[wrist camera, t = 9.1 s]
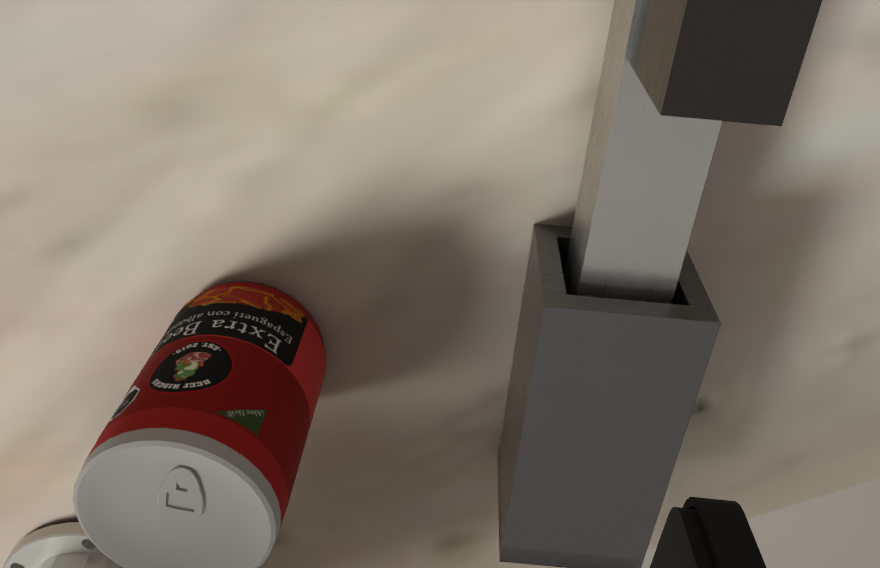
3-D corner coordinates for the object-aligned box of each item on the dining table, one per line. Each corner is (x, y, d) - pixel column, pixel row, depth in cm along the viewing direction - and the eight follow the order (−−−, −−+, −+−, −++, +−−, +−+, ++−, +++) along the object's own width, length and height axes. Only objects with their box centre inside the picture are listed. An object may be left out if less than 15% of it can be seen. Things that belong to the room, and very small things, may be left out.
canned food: (320, 275, 35) (259, 441, 26) (338, 408, 39) (291, 593, 30) (158, 275, 36) (40, 439, 26) (193, 407, 40) (102, 588, 30)
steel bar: (634, 337, 34) (674, 479, 27) (551, 329, 34) (570, 470, 27) (771, -203, 23) (903, -213, 16) (652, -213, 23) (728, -228, 16)
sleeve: (617, 469, 40) (638, 574, 35) (497, 458, 40) (499, 561, 35) (680, 237, 33) (720, 323, 27) (534, 224, 33) (544, 306, 27)
